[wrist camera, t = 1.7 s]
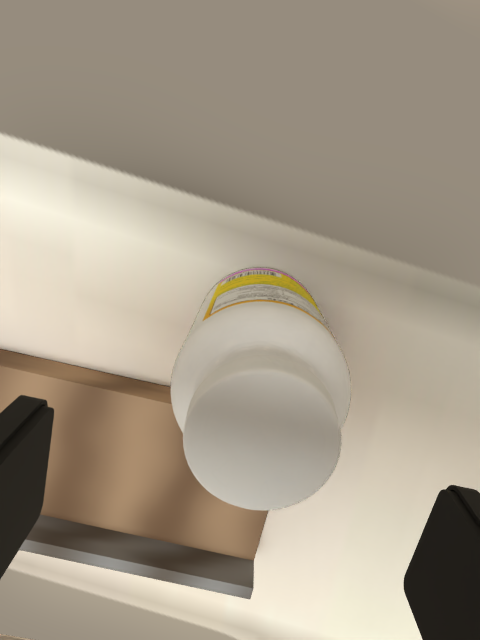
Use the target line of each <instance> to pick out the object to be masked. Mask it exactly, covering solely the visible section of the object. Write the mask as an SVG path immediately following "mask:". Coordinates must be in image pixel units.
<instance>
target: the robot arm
mask: <svg viewBox="0 0 480 640" xmlns="http://www.w3.org/2000/svg"><path fill="white" fill-rule="evenodd" d="M53 420H54V409H53V408H52V407H48V403H47V401H46V400H44V399H40V398H35V397H30V396H25V395H20V396H18V397H17V398H16V399H15V400H14V401H13V402H12V403H11V404H10V405H9V406H7V407H6V408H5V409H4V410H3V411H2V412H1V413H0V579H1V577H2V576H3V574H4V573H5V571H6V569H7V568H8V566H9V565H10V563H11V561H12V560H13V558H14V557H15V555H16V553H17V552H18V550H19V549H20V547H21V545H22V544H23V542H24V541H25V539H26V538H27V536H28V534H29V533H30V531H31V530H32V528H33V526H34V525H35V523H36V522H37V520H38V518H39V516H40V513H41V510H42V507H43V501H44V493H45V485H46V477H47V469H48V460H49V452H50V444H51V436H52V428H53ZM404 591H405V595H406V597H407V600H408V602H409V605H410V608H411V610H412V613H413V615H414V618H415V621H416V623H417V626H418V628H419V631H420V634H421V636H422V639H423V640H480V493H479V492H478V491H477V490H474V489H469V488H464V487H460V486H455V485H451V486H449V487H448V488H447V489H446V490H441V491H440V492H439V494H438V496H437V499H436V501H435V504H434V506H433V508H432V511H431V513H430V516H429V518H428V521H427V523H426V525H425V528H424V530H423V533H422V535H421V538H420V540H419V542H418V545H417V547H416V550H415V552H414V555H413V557H412V559H411V562H410V564H409V567H408V569H407V572H406V574H405V577H404ZM0 640H33V639H27V638H21V637H15V636H9V635H3V634H0Z"/></svg>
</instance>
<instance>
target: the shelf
mask: <svg viewBox="0 0 480 640" xmlns="http://www.w3.org/2000/svg"><path fill="white" fill-rule="evenodd" d="M20 395H25V396H30V397H35V398H40V399H44V400H46V401H47V403H48V407H52V408H53V409H54V420H53V428H52V436H51V444H50V452H49V460H48V469H47V477H46V485H45V493H44V501H43V507H42V510H41V513H40V516H39V518H38V520H37V522H36V523H35V525H34V526H33V528H32V530H31V531H30V533H29V534H28V536H27V538H26V539H25V541H24V542H23V544H22V545H21V547H20V549H19V550H22V551H27V552H31V553H36V554H41V555H45V556H50V557H55V558H59V559H64V560H69V561H73V562H78V563H83V564H87V565H92V566H97V567H101V568H106V569H111V570H115V571H120V572H125V573H129V574H134V575H139V576H143V577H148V578H153V579H158V580H162V581H167V582H172V583H176V584H181V585H186V586H190V587H195V588H200V589H204V590H209V591H214V592H218V593H223V594H228V595H232V596H237V597H242V598H246V599H250V598H251V595H252V591H253V576H254V558H255V554H256V551H257V547H258V544H259V541H260V537H261V534H262V530H263V527H264V523H265V520H266V516H267V513H268V510H250V509H245V508H241V507H237V506H234V505H231V504H229V503H226V502H224V501H222V500H220V499H219V498H217V497H215V496H214V495H212V494H211V493H210V492H208V491H207V490H206V489H205V488H204V487H203V486H202V485H201V484H200V483H199V481H198V480H197V479H196V477H195V476H194V474H193V473H192V471H191V469H190V467H189V465H188V463H187V460H186V457H185V453H184V448H183V433H182V431H181V429H180V427H179V425H178V423H177V420H176V418H175V415H174V412H173V407H172V402H171V387H167V386H163V385H158V384H154V383H149V382H145V381H140V380H136V379H131V378H127V377H123V376H118V375H114V374H109V373H105V372H100V371H96V370H91V369H87V368H82V367H78V366H73V365H69V364H65V363H60V362H56V361H51V360H47V359H42V358H38V357H33V356H29V355H24V354H20V353H16V352H11V351H7V350H2V349H0V413H1V412H2V411H3V410H4V409H5V408H6V407H7V406H9V405H10V404H11V403H12V402H13V401H14V400H15V399H16V398H17V397H18V396H20Z"/></svg>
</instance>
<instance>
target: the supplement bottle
mask: <svg viewBox="0 0 480 640" xmlns="http://www.w3.org/2000/svg"><path fill="white" fill-rule="evenodd" d="M350 400H351V380H350V373H349V369H348V366H347V363H346V360H345V357H344V355H343V353H342V351H341V349H340V347H339V345H338V343H337V342H336V340H335V338H334V337H333V335H332V333H331V331H330V329H329V327H328V326H327V324H326V322H325V320H324V318H323V317H322V315H321V313H320V311H319V309H318V307H317V305H316V304H315V302H314V300H313V298H312V297H311V295H310V294H309V293H308V291H307V290H306V289H305V288H304V287H303V286H302V285H301V284H300V283H299V282H298V281H297V280H295V279H294V278H293V277H291V276H289V275H287V274H285V273H283V272H281V271H278V270H274V269H270V268H261V267H260V268H248V269H243V270H240V271H237V272H235V273H232V274H230V275H228V276H227V277H225V278H224V279H222V280H221V281H220V282H218V283H217V284H216V285H215V286H214V287H213V288H212V290H211V291H210V292H209V294H208V295H207V296H206V298H205V300H204V302H203V304H202V306H201V308H200V310H199V312H198V315H197V317H196V319H195V321H194V323H193V325H192V328H191V330H190V332H189V334H188V336H187V338H186V340H185V342H184V344H183V346H182V348H181V350H180V352H179V354H178V356H177V359H176V361H175V364H174V368H173V372H172V377H171V402H172V407H173V412H174V415H175V418H176V420H177V423H178V425H179V427H180V429H181V431H182V433H183V448H184V453H185V457H186V460H187V463H188V465H189V467H190V469H191V471H192V473H193V474H194V476H195V477H196V479H197V480H198V481H199V483H200V484H201V485H202V486H203V487H204V488H205V489H206V490H207V491H208V492H210V493H211V494H212V495H214V496H215V497H217V498H219V499H220V500H222V501H224V502H226V503H229V504H231V505H234V506H237V507H241V508H245V509H250V510H276V509H281V508H285V507H289V506H292V505H294V504H297V503H299V502H301V501H303V500H305V499H307V498H308V497H310V496H311V495H313V494H314V493H315V492H316V491H318V490H319V489H320V488H321V487H322V486H323V485H324V484H325V483H326V481H327V480H328V479H329V477H330V476H331V474H332V472H333V471H334V469H335V467H336V464H337V461H338V458H339V455H340V450H341V428H342V426H343V424H344V422H345V420H346V417H347V414H348V410H349V405H350Z"/></svg>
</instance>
